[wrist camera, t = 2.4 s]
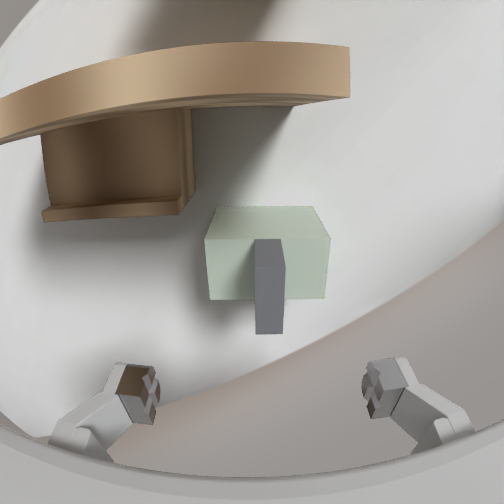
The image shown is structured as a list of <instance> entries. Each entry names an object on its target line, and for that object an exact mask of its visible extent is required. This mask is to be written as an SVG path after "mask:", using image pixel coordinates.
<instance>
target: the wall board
mask: <svg viewBox="0 0 504 504" xmlns="http://www.w3.org/2000/svg"><path fill="white" fill-rule="evenodd" d="M349 97H350V55H349V47H344V46H336V45H326V44H315V43H301V42H273V41H254V42H226V43H211V44H200V45H190V46H182V47H174V48H167V49H161V50H155V51H149V52H144V53H139V54H134V55H129V56H124V57H120V58H115V59H111V60H107V61H103V62H99V63H96V64H92V65H89V66H85V67H82V68H78V69H75V70H72V71H69V72H66V73H63V74H60V75H57V76H54V77H51V78H48V79H46V80H43V81H40V82H38V83H35V84H33V85H30V86H28V87H25V88H23V89H21V90H18V91H16V92H14V93H12V94H9V95H7V96H5V97H3V98H1V99H0V145H2V144H5V143H9V142H12V141H16V140H20V139H24V138H28V137H32V136H36V135H41V145H42V153H43V161H44V169H45V175H46V182H47V187H48V193H49V199H50V204H51V206H50V207H48V208H46V209H45V210H43V211H42V216H43V220H44V222H55V221H69V220H83V219H99V218H116V217H136V216H159V215H179V213H180V212H181V211H182V209H183V208H184V206H185V205H186V204H187V202H188V201H189V200H190V198H191V197H192V195H193V194H194V193H195V177H194V162H193V144H192V123H191V109H197V108H211V107H231V106H298V105H303V104H309V103H315V102H321V101H328V100H334V99H342V98H349Z"/></svg>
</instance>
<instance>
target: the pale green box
mask: <svg viewBox="0 0 504 504" xmlns="http://www.w3.org/2000/svg"><path fill="white" fill-rule="evenodd" d="M330 241H331V238H330V236H329V234H328V233H327V231H326V229H325V227H324V225H323V224H322V222H321V220H320V218H319V216H318V215H317V213H316V211H315V209H314V208H313V206H244V207H217V208H216V211H215V213H214V216H213V218H212V221H211V223H210V226H209V228H208V231H207V234H206V236H205V239H204V243H205V254H206V265H207V275H208V285H209V295H210V300H255V322H256V334H283V316H284V299H323V298H324V295H325V287H326V279H327V270H328V261H329V251H330Z"/></svg>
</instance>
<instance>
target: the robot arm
mask: <svg viewBox="0 0 504 504" xmlns="http://www.w3.org/2000/svg"><path fill="white" fill-rule="evenodd" d="M366 369H367V373H366V374H365V375H364V376H363V379H362V393H363V396H364V398H365V399H366V400H368V401H369V402H368V405H367V408H368V412H369V415H370V418H371V419H376V418H382V417H388V416H390V417H391V418H392V419H393V420H394V421H395V422H396V423H397V424H398V425H400V426H401V427H402V428H403V429H404V430H405V431H406V432H407V433H408V434H409V435H410V436H412V437H413V438H414V439H415V440H416V441H417V442H418V444H417V445H416V447H415V448H414V450H413V451H412V452H411V455H408V456H405V457H401V458H397V459H393V460H389V461H385V462H381V463H377V464H372V465H367V466H362V467H357V468H351V469H345V470H338V471H332V472H324V473H316V474H307V475H297V476H296V475H295V476H280V477H211V476H197V475H186V474H185V475H184V474H176V473H168V472H161V471H153V470H147V469H141V468H136V467H131V466H125V465H120V464H116V463H114V461H113V459H112V458H111V457H110V456H109V454H108V453H107V452H106V450H107V449H108V448H109V447H110V446H111V445H112V444H113V443H114V442H115V441H116V440H117V439H118V438H119V437H120V436H121V435H122V434H123V433H124V432H125V431H126V430H127V429H128V428H129V427H130V426H131V425H132V424H133V423H140V424H149V425H153V422H154V419H155V415H156V410H155V407H154V406H155V405H156V404H158V403H159V399H160V385H159V381H158V380H157V379H156V378H155V373H156V372H155V370H154V367H152V366H144V365H135V364H126V363H118V362H117V363H116V364H115V365H114V366H113V369H112V371H111V373H110V375H109V378H108V380H107V382H106V384H105V387H104V389H103V391H102V392H98V393H97V394H95V395H94V396H92V397H91V398H89V399H88V400H87V401H85V402H84V403H82V404H81V405H79V406H78V407H77V408H75V409H74V410H72V411H71V412H69V413H68V414H66V415H65V416H64V417H62V418H61V419H59V420H58V422H57V424H56V426H55V428H54V431H53V433H52V435H51V437H50V440H49V442H48V444H46V443H43V442H41V441H38V440H35V439H33V438H31V437H28V436H26V435H23V434H20V433H18V432H16V431H14V430H12V429H9V428H7V427H5V426H3V425H1V424H0V504H504V419H503V420H501V421H499V422H497V423H495V424H492V425H491V426H488V427H486V428H484V429H481V430H479V431H477V432H475V430H474V428H473V426H472V424H471V422H470V420H469V418H468V416H467V414H466V413H465V411H464V409H462V408H460V407H459V406H457V405H456V404H454V403H452V402H451V401H449V400H448V399H446V398H444V397H443V396H441V395H440V394H438V393H437V392H435V391H433V390H432V389H430V388H429V387H427V386H426V385H424V384H420V383H419V381H418V380H417V378H416V376H415V374H414V372H413V370H412V368H411V366H410V364H409V362H408V361H407V359H406V357H404V356H401V357H394V358H388V359H381V360H374V361H369V362H368V364H367V367H366Z"/></svg>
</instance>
